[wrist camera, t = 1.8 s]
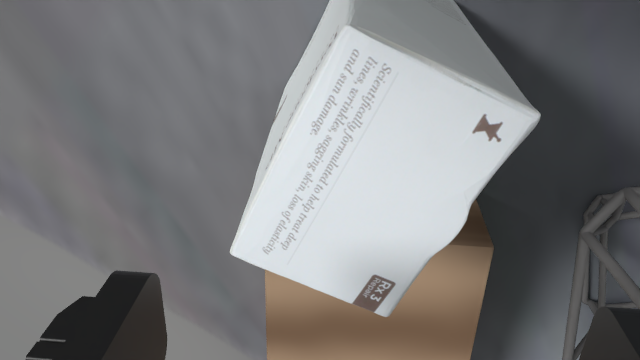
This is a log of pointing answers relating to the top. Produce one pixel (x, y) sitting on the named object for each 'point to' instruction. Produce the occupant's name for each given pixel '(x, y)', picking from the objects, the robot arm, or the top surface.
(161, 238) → the top surface
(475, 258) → the light brown block
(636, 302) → the geometric lantern
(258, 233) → the skincare box
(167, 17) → the top surface
